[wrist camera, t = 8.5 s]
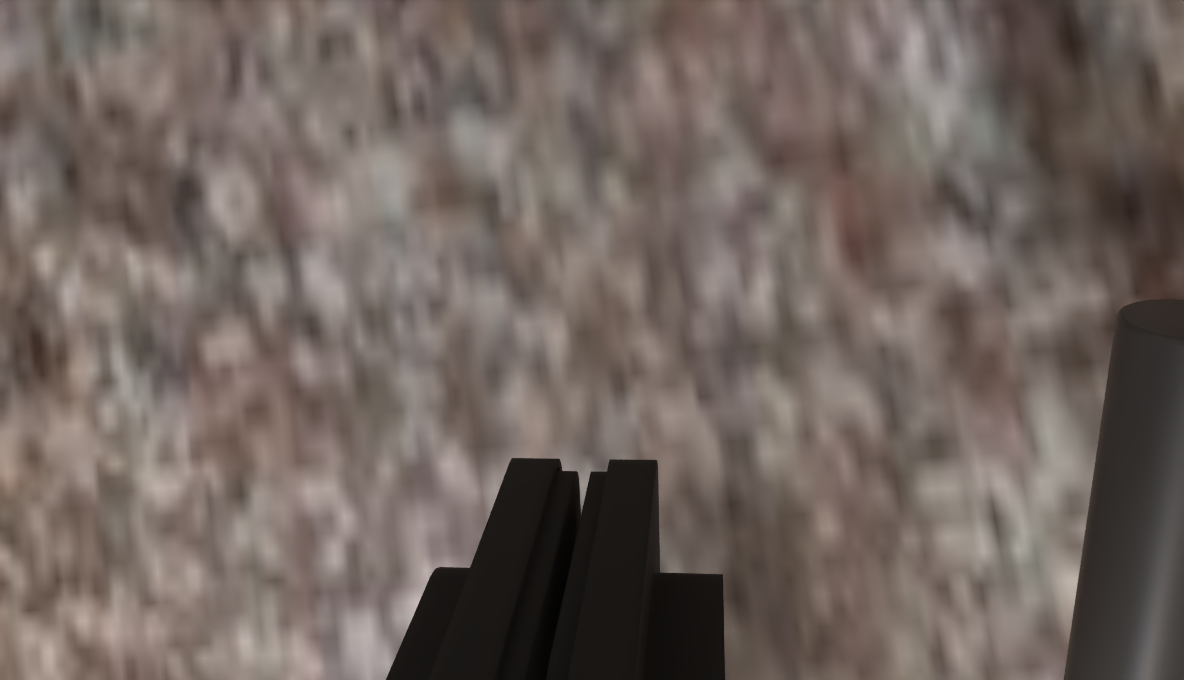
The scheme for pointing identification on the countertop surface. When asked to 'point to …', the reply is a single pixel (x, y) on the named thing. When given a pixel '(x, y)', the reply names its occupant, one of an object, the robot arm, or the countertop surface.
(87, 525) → the countertop surface
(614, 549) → the robot arm
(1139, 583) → the drawer
